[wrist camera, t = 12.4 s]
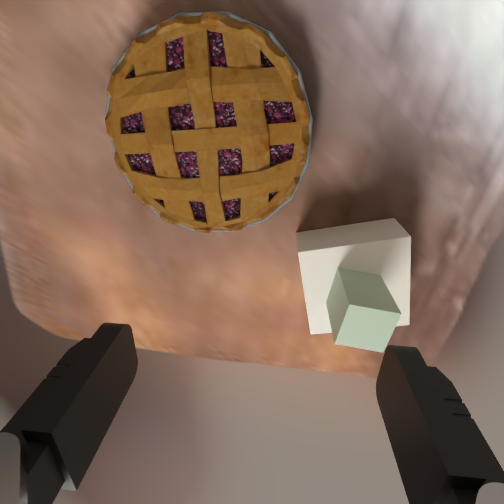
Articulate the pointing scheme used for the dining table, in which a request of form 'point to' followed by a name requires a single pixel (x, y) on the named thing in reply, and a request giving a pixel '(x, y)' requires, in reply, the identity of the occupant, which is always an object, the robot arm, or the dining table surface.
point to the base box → (354, 263)
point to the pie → (209, 121)
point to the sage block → (361, 310)
